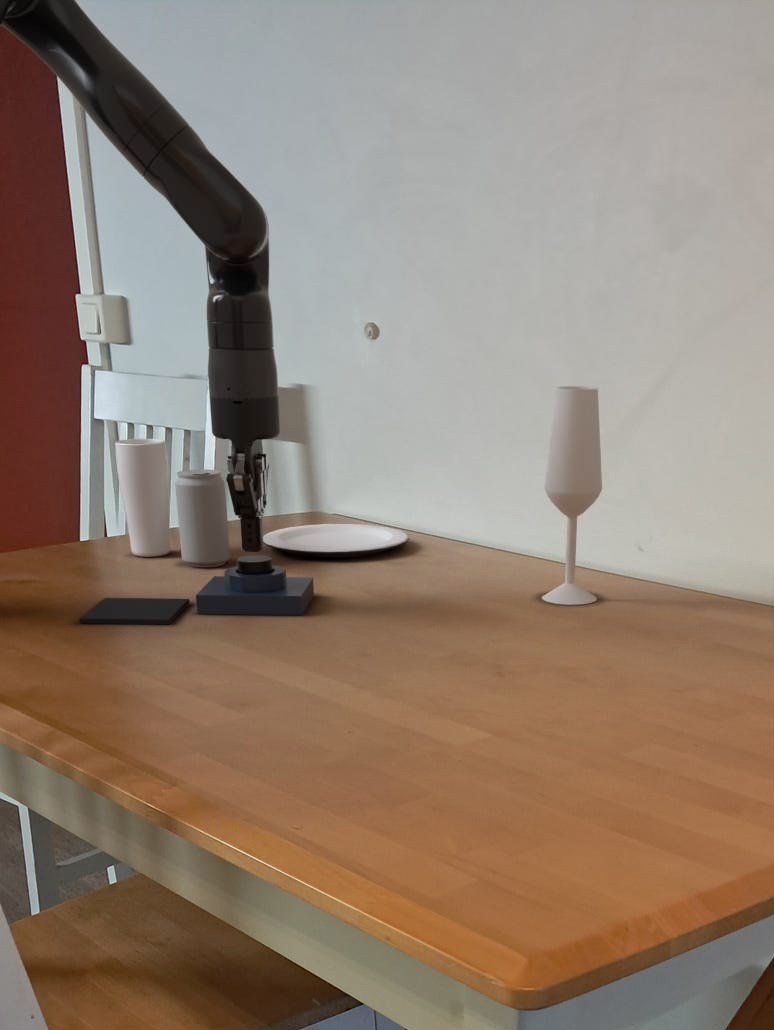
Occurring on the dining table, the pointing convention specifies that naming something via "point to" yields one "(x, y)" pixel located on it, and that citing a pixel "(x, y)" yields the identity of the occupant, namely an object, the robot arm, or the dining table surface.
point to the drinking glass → (145, 494)
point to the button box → (255, 594)
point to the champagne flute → (573, 474)
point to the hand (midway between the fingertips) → (252, 550)
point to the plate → (335, 540)
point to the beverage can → (202, 518)
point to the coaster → (135, 611)
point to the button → (254, 565)
